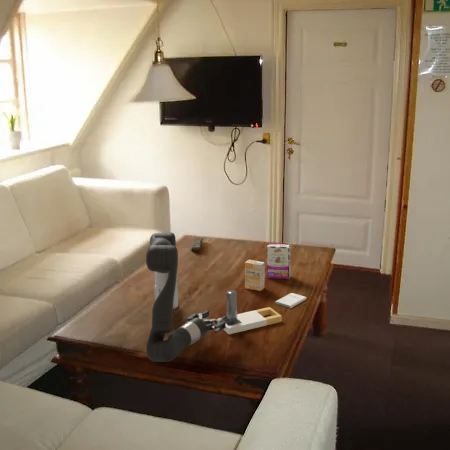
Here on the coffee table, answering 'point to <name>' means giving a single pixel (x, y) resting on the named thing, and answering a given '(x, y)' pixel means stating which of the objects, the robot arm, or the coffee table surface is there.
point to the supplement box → (254, 275)
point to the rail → (253, 320)
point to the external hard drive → (290, 300)
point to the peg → (231, 307)
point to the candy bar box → (278, 261)
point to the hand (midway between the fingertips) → (217, 315)
